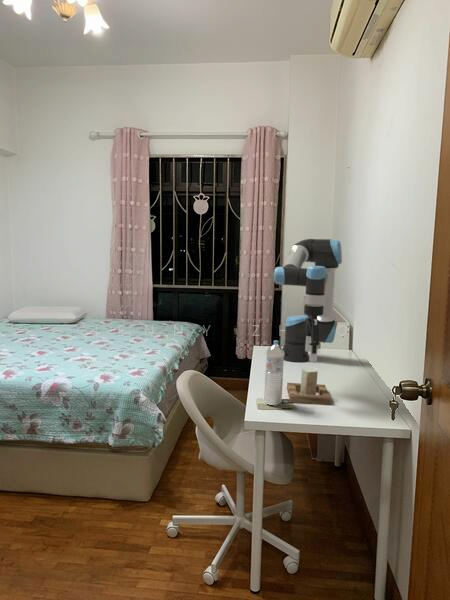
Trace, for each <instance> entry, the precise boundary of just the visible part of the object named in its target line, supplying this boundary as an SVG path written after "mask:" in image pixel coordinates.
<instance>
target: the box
mask: <svg viewBox="0 0 450 600" xmlns="http://www.w3.org/2000/svg"><path fill="white" fill-rule="evenodd" d="M318 374H319V372H318V371H317V370H316V369H314V368H303V369H301V377H300V378H301V379H300V383H301V389H300V391H299V394H307V395H317V392H316V385H317V384H318V383H317V382H318Z"/></svg>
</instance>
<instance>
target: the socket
mask: <svg viewBox="0 0 450 600" xmlns="http://www.w3.org/2000/svg"><path fill="white" fill-rule="evenodd" d="M300 389H301V382H287V383H286V391H287V395H288V399H289V402H290V403H295V404H298V403H299V404H314V405H315V404H316V405H327V406H328V405H330V406H331V405H332V400H333V399H332V396H331V394H330V392H329V390H328V389H327V386H326V384H320V383H319V384H318V383H317V385H316V393H317V394H316V395H307V394H300V393H298V392H300Z"/></svg>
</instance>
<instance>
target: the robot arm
mask: <svg viewBox="0 0 450 600" xmlns="http://www.w3.org/2000/svg"><path fill="white" fill-rule="evenodd" d="M342 255H343V254H342V243H341V242H340V241H339V240H338V239H331V238H329V239H328V238H327V239H325V238H321V239H320V238H308V239H307V238H306V239H303V240H300V241H298V242H296V243H294V244H293V246H291V247H290V249H289V250H288V258H287V259H286V261H285V263H284V265H283V266H277V267H275V269H274V271H273V282H274V283H275V285H280V286H293V287H294V286H295V287H296V286H297V287H299V286H300V287H305V296H303V299H304V312H303V313H304V315H303V314H298V315H297V314H296V315H291V316H288V317H287V318H286V320H285V325H284V326H285V327H284V328H285V331H284V343H283V346H282V349H283V350H284V361H287V362H293V363H297V362H298V363H304V362H308V361H309V362H316V363H317V362H318V349H319V348H318V347H319V345H320V343H324V344H325V343H328V344H331V343H333V342H334V340H335V337H336V332H337V327H338V321H337V320H335V319H336V318H335V316H334V315H333V308H334V307H333V305H334V291H335V277H336V276H335V275H336V270H337V269H338V268H339V265H340V264H342V262H343V256H342ZM304 263H314V265H308V266H307V268H305V267H303V265H304ZM302 267H303V268H302Z"/></svg>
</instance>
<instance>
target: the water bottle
mask: <svg viewBox="0 0 450 600" xmlns="http://www.w3.org/2000/svg"><path fill="white" fill-rule="evenodd" d="M265 353H266V361H265V362H266V363H265V364H266V365H265V375H264V377H265V378H264V392H263V393H264V396H263V402H264V404H265V403H266V404H265V405H267V404H269V405H274V406H273V407H278V406H281V404H282V398H283V385H284V384H283V383H284V364H285V363H284V362H285V360H284V350H283V347H281V345H279V340H273V344H272V345H270V346H269V347H268V348H267V349H266V352H265ZM269 405H268V406H269ZM277 405H278V406H277Z"/></svg>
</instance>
